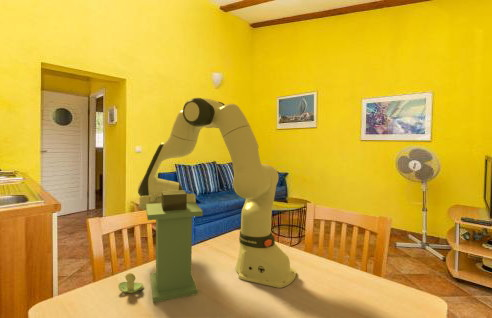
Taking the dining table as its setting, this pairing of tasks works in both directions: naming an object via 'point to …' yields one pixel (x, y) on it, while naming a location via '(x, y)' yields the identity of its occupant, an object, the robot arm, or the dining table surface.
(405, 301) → the dining table surface
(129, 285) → the pacifier
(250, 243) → the robot arm
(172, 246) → the stand
